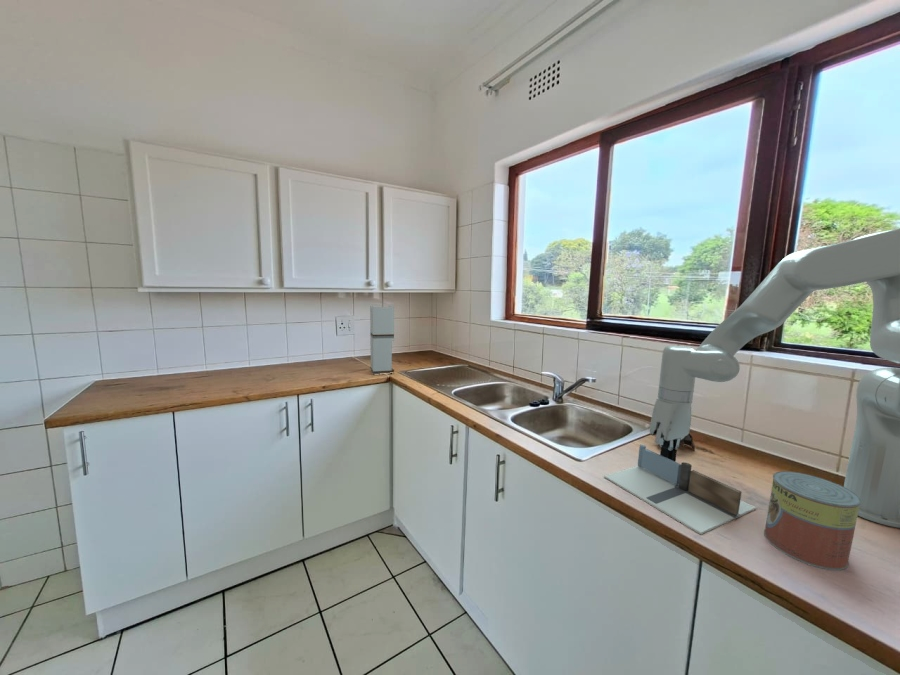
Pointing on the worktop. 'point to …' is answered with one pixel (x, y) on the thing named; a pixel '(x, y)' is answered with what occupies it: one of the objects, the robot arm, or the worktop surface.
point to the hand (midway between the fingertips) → (667, 462)
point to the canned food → (812, 519)
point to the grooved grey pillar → (381, 338)
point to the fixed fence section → (709, 489)
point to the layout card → (675, 500)
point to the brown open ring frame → (687, 441)
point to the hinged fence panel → (659, 465)
